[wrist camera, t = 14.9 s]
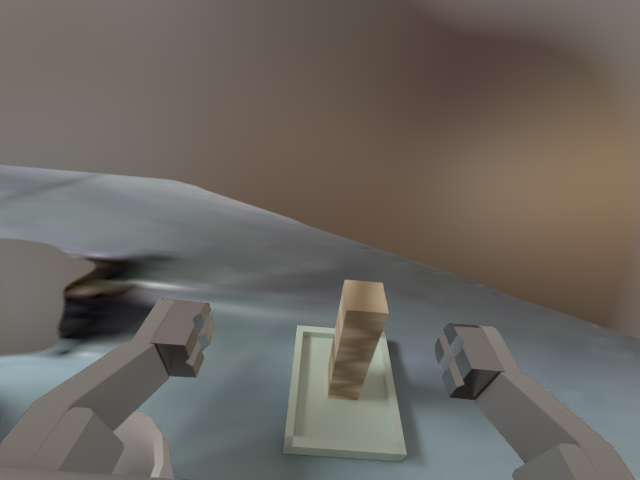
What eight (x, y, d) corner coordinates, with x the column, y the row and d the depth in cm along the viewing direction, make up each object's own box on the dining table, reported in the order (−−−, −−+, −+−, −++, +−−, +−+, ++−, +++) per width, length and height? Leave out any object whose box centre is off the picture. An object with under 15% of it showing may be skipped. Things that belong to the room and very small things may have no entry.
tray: (283, 453, 33) (283, 445, 31) (296, 334, 45) (297, 325, 44) (401, 461, 33) (406, 454, 31) (381, 341, 46) (385, 332, 44)
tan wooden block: (327, 398, 37) (346, 309, 26) (327, 368, 40) (344, 279, 29) (357, 400, 37) (388, 313, 26) (354, 371, 40) (382, 282, 29)
